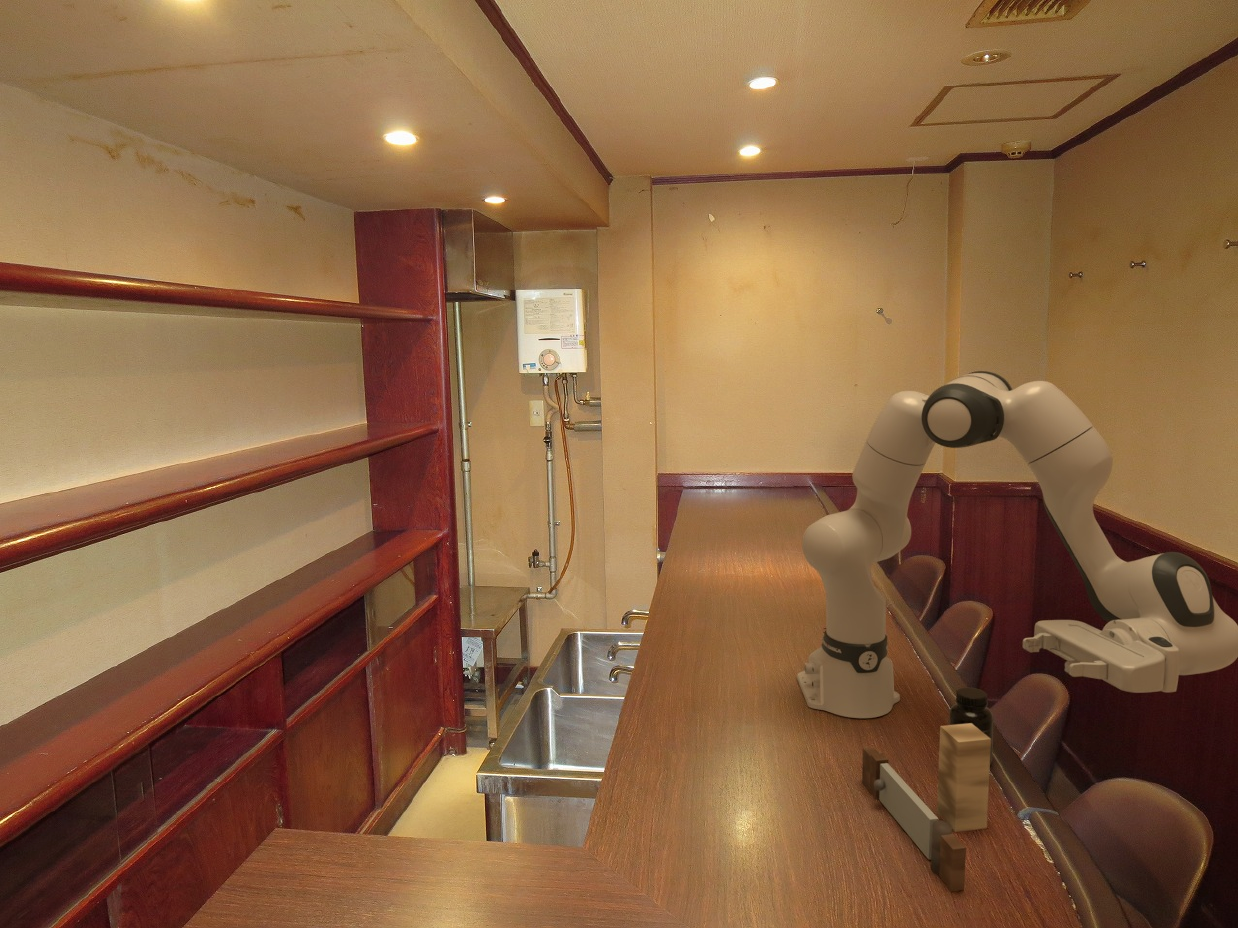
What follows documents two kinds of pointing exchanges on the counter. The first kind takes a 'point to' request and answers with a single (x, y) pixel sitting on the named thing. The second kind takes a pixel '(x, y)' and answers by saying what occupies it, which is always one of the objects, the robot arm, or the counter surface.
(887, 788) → the gate
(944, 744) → the beech block
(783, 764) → the counter surface
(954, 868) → the gate frame
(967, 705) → the supplement bottle
